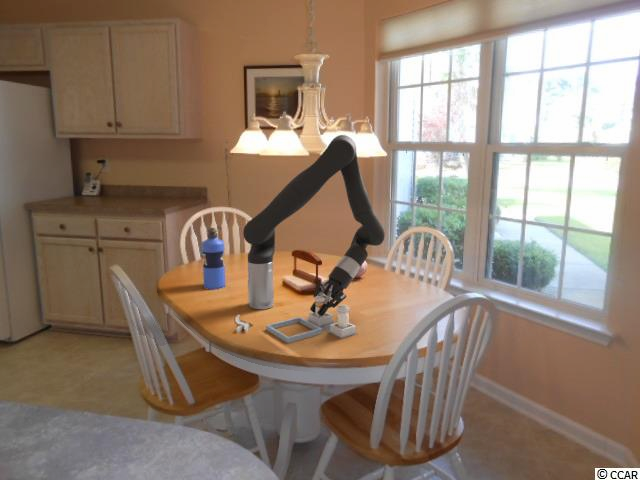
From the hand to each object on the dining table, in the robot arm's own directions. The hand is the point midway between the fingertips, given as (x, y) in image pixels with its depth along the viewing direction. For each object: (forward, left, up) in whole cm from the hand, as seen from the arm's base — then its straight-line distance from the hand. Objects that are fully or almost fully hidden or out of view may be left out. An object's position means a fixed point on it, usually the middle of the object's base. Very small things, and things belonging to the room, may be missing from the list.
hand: (315, 312), depth 161 cm
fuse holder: (+6, +2, -5) cm, 8 cm away
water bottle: (-61, -9, -5) cm, 62 cm away
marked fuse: (0, +2, -3) cm, 4 cm away
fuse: (+12, +2, -3) cm, 13 cm away
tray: (+2, -10, -4) cm, 11 cm away
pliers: (-15, -18, -5) cm, 24 cm away
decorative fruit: (-35, +48, -5) cm, 60 cm away
